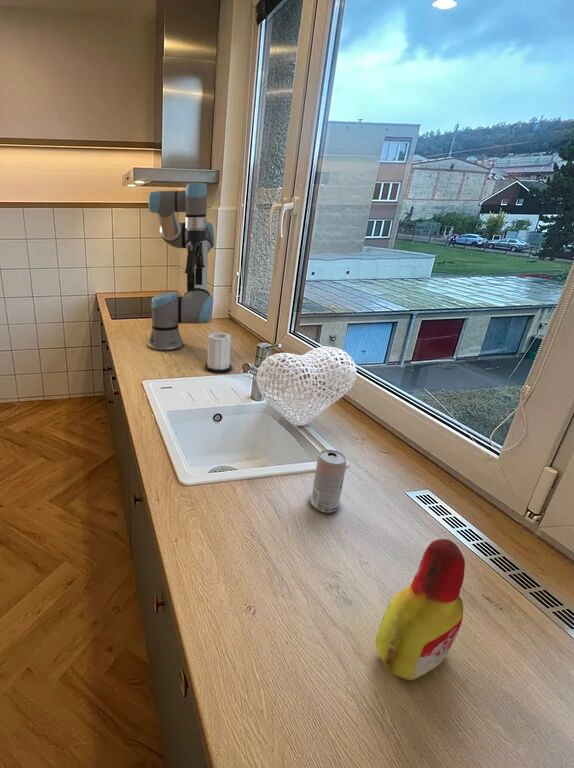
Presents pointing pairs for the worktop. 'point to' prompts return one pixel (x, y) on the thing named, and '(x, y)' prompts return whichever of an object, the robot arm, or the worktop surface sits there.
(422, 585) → the bottle
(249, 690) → the worktop surface
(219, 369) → the towel stand
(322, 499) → the energy drink
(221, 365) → the paper towel roll
